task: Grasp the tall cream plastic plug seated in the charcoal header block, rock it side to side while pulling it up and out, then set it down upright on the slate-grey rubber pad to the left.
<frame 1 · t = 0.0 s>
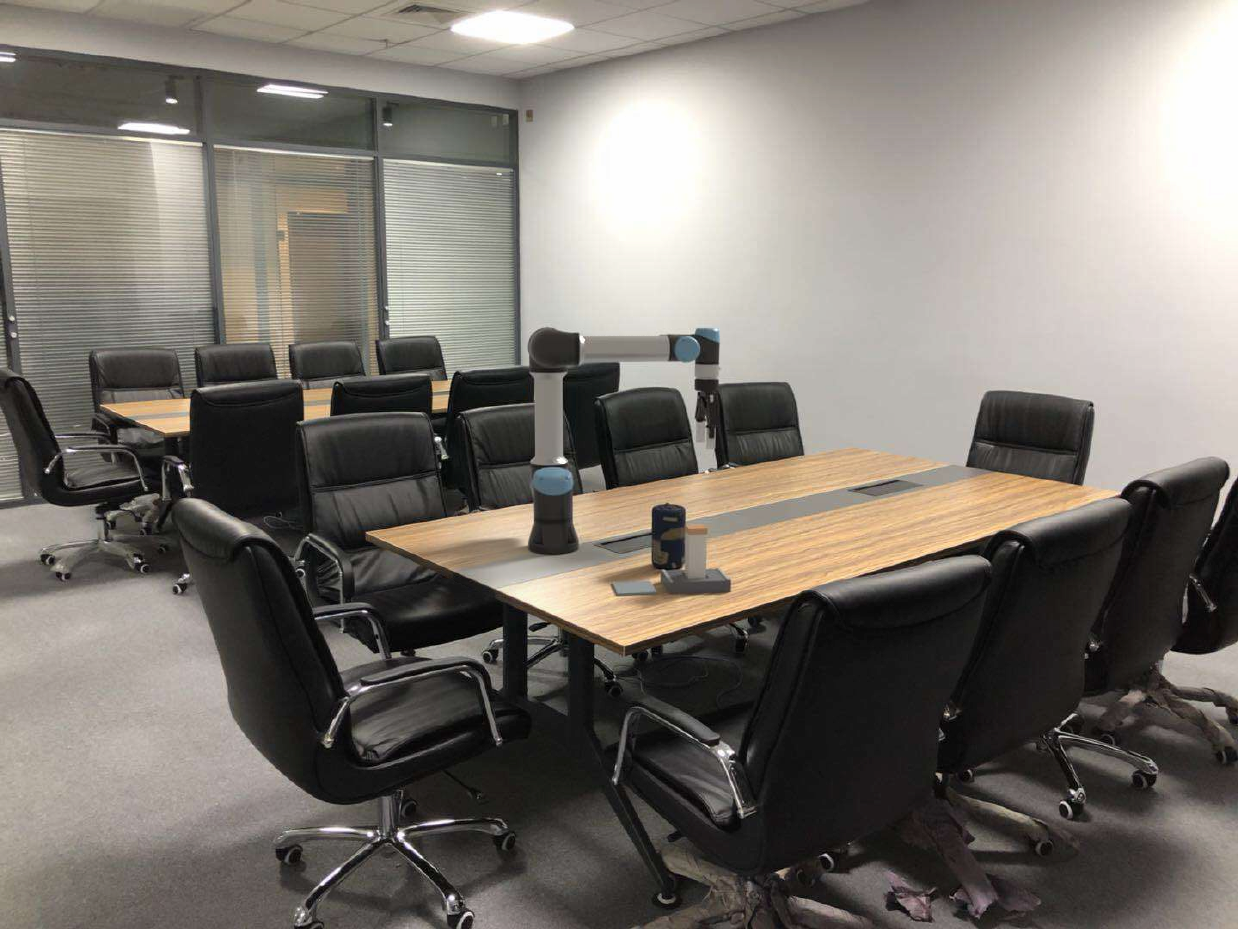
hand: (705, 445, 305), 28 cm above the table, fingers open, 13 cm apart
canister: (668, 566, 270), on the table
plug: (695, 556, 250), in the header
header: (695, 586, 251), on the table
pad: (634, 589, 249), on the table
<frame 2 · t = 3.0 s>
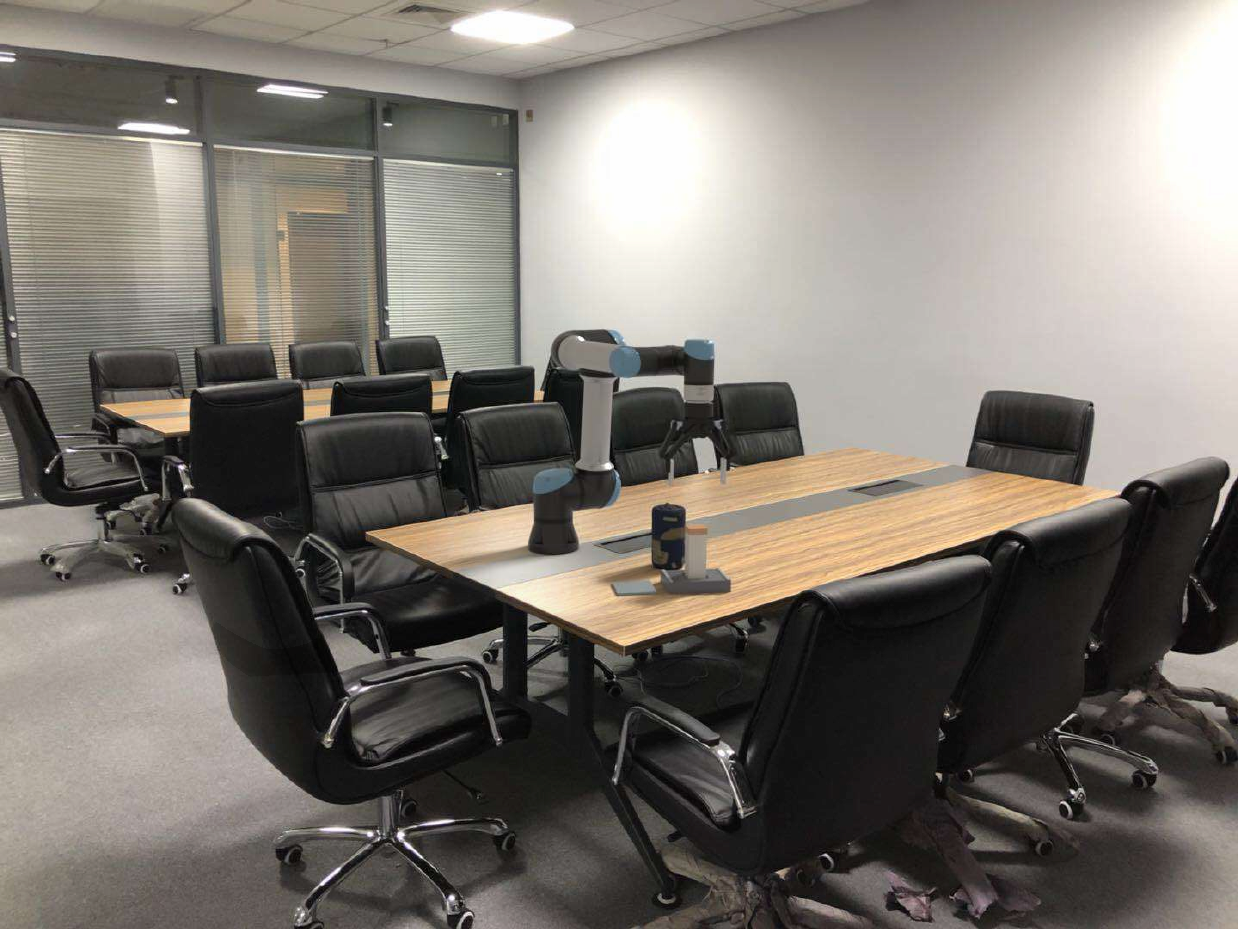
hand: (697, 484, 247), 27 cm above the table, fingers open, 13 cm apart
nothing on the table moved.
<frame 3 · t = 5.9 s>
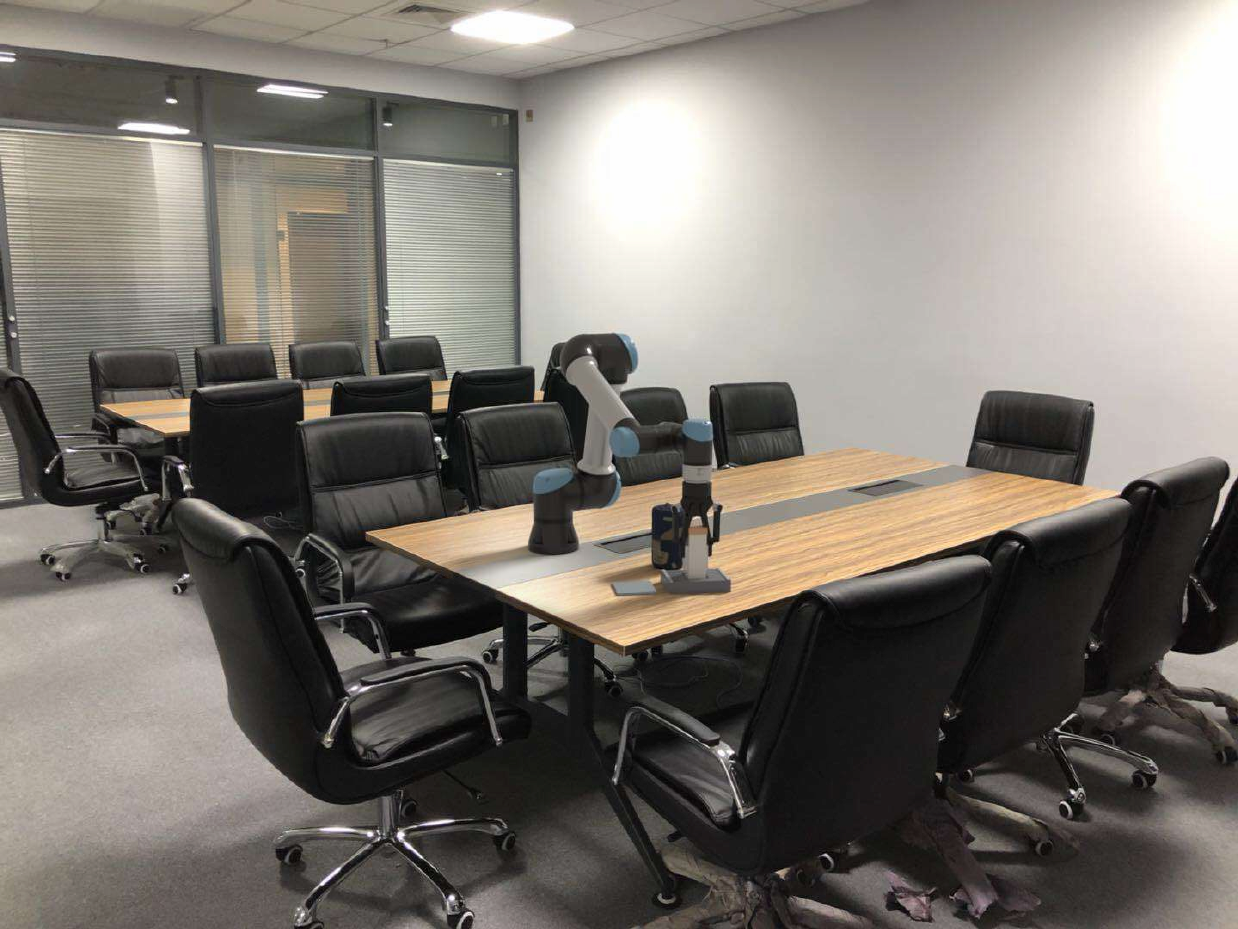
hand: (695, 569, 251), 5 cm above the table, fingers closed on plug, 4 cm apart
plug: (695, 556, 250), in the header, touching gripper
everything else where it was.
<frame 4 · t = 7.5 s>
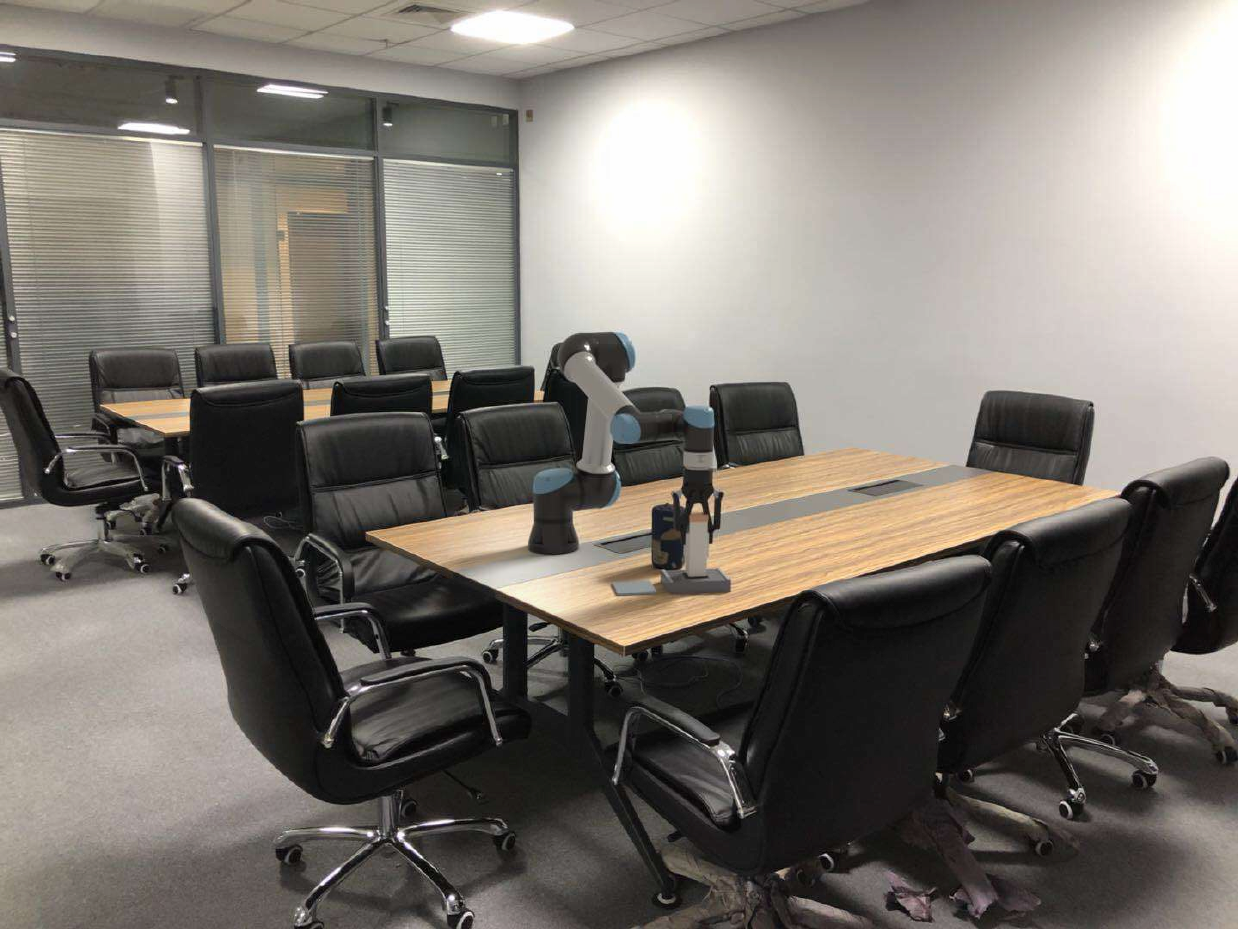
hand: (696, 556, 250), 8 cm above the table, fingers closed on plug, 4 cm apart
plug: (696, 543, 250), point 11 cm above the table, touching gripper
everything else where it was.
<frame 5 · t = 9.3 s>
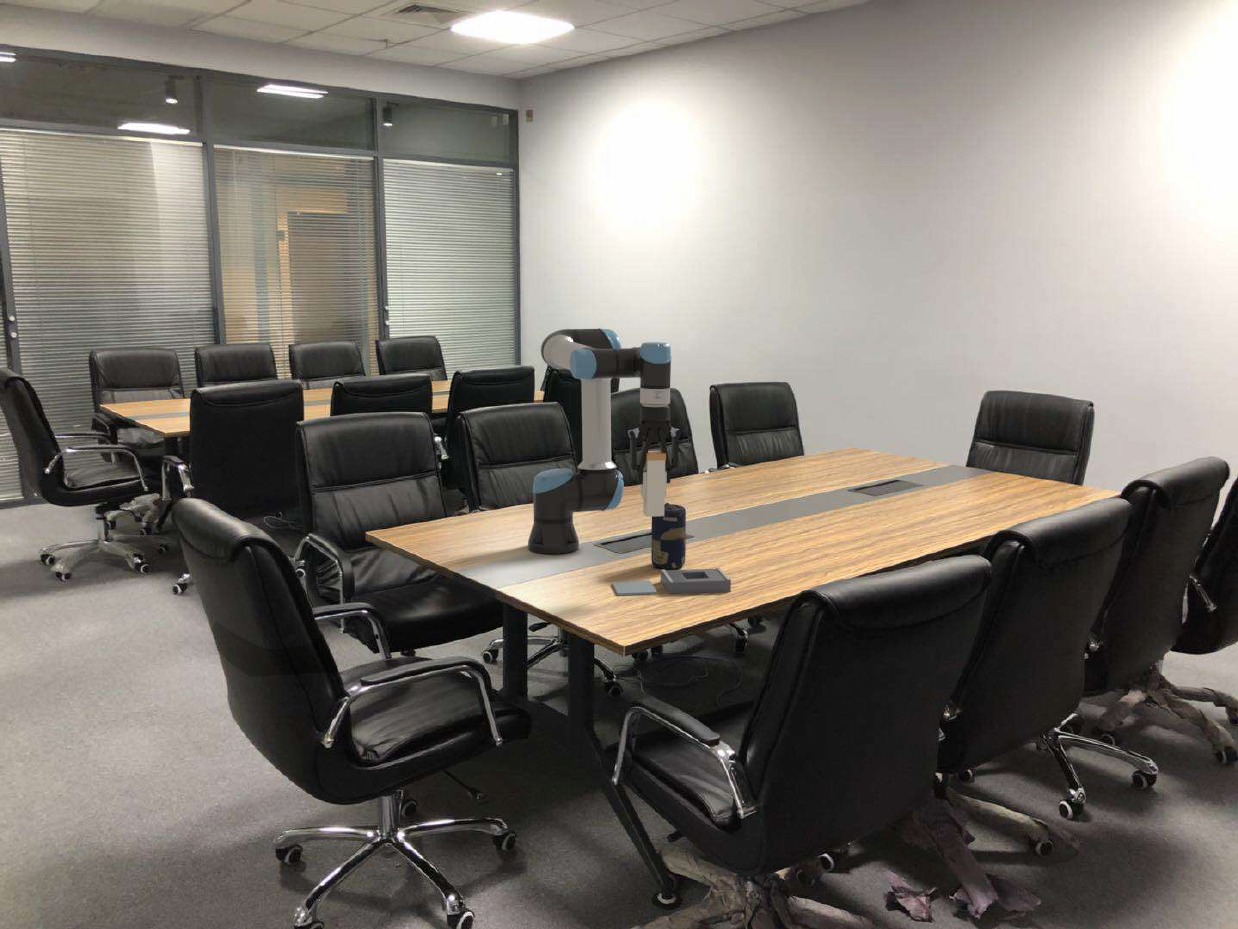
hand: (653, 496, 246), 24 cm above the table, fingers closed on plug, 4 cm apart
plug: (654, 483, 245), point 27 cm above the table, touching gripper
everything else where it was.
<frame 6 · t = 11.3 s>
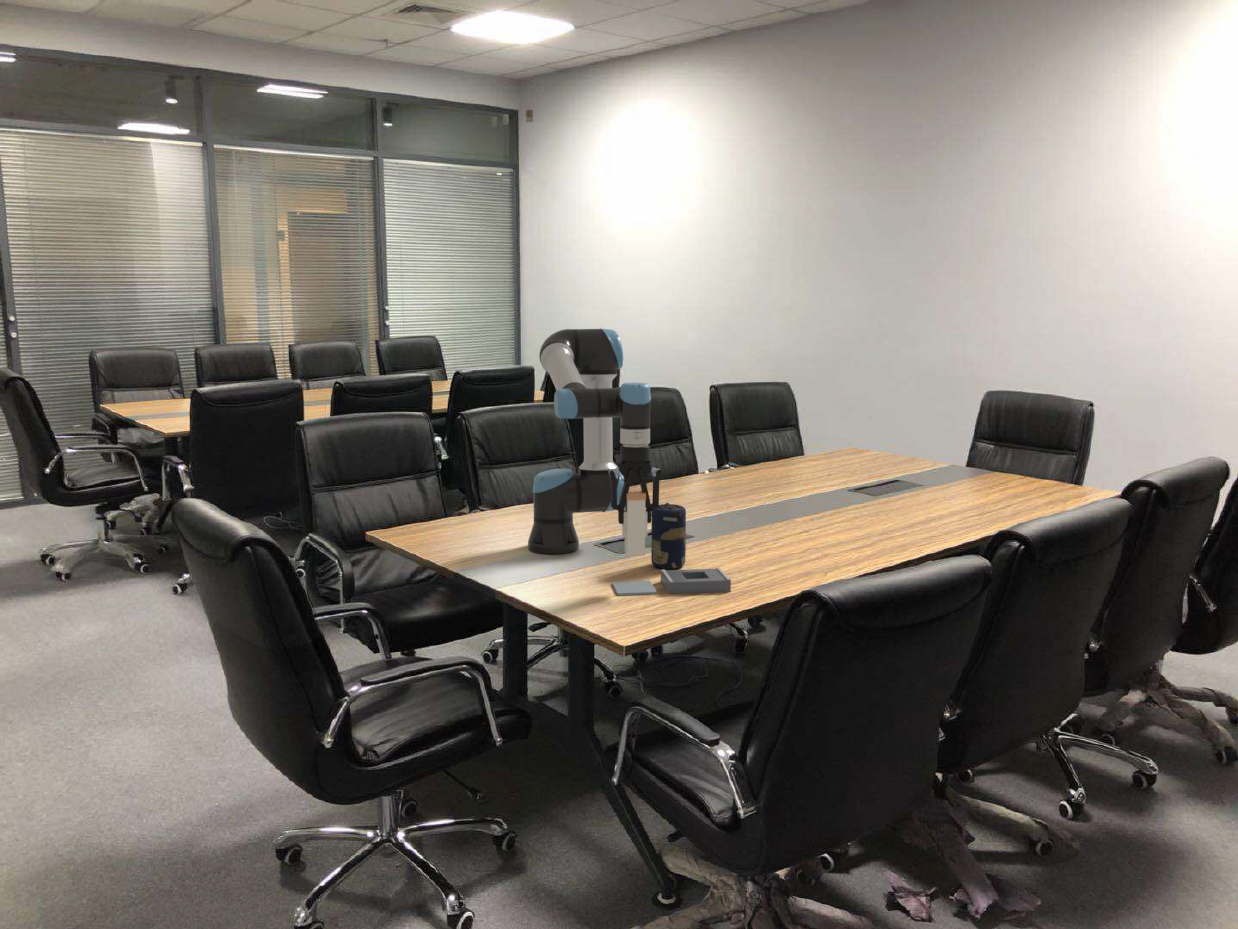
hand: (634, 535, 246), 14 cm above the table, fingers closed on plug, 4 cm apart
plug: (634, 523, 246), point 17 cm above the table, touching gripper
everything else where it was.
when the fingers open (6 cm above the table, at t = 12.8 s): plug stays where it is, resting on pad.
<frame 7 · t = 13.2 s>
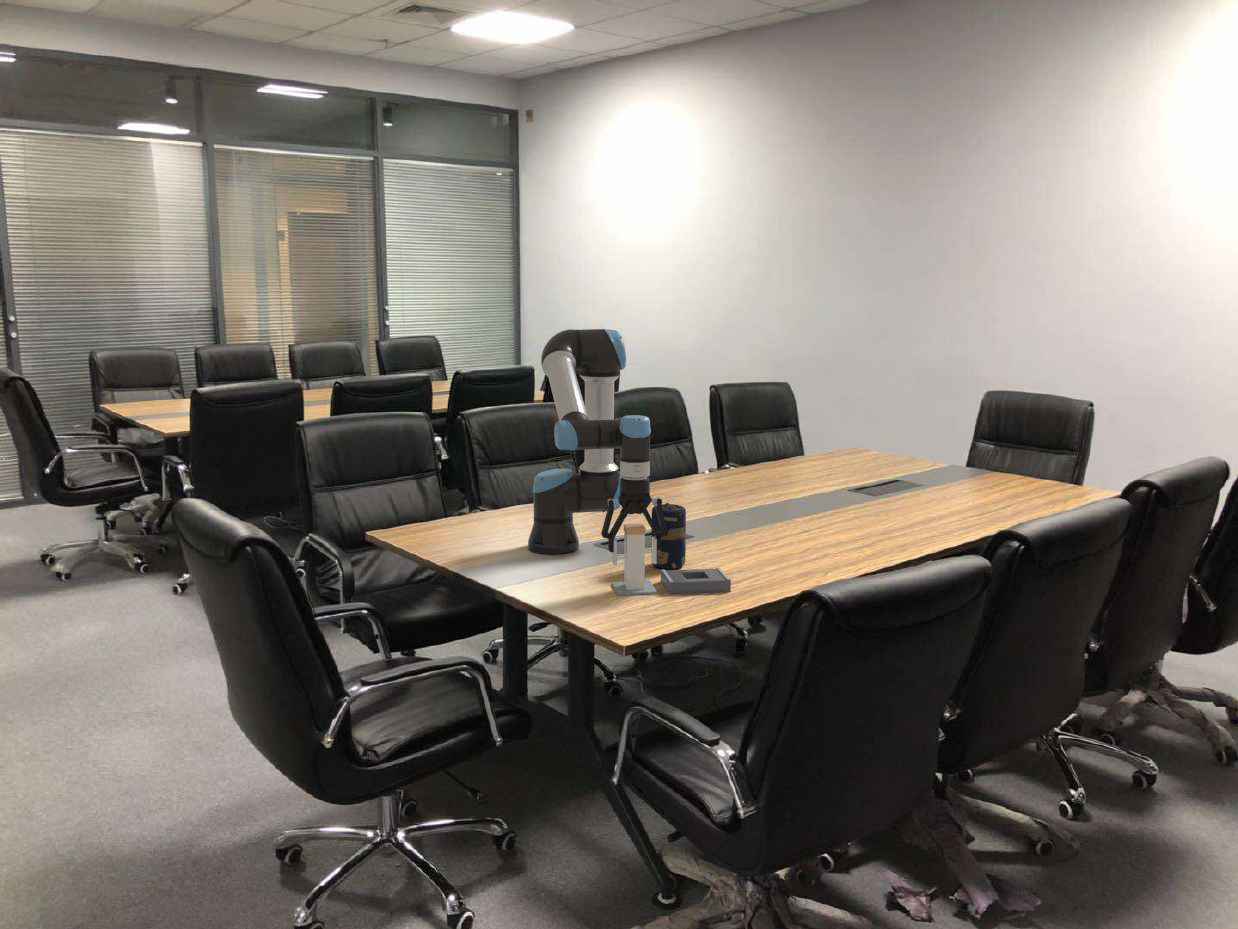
hand: (634, 563, 248), 7 cm above the table, fingers open, 9 cm apart
plug: (634, 556, 247), on the pad, point 9 cm above the table
everything else where it was.
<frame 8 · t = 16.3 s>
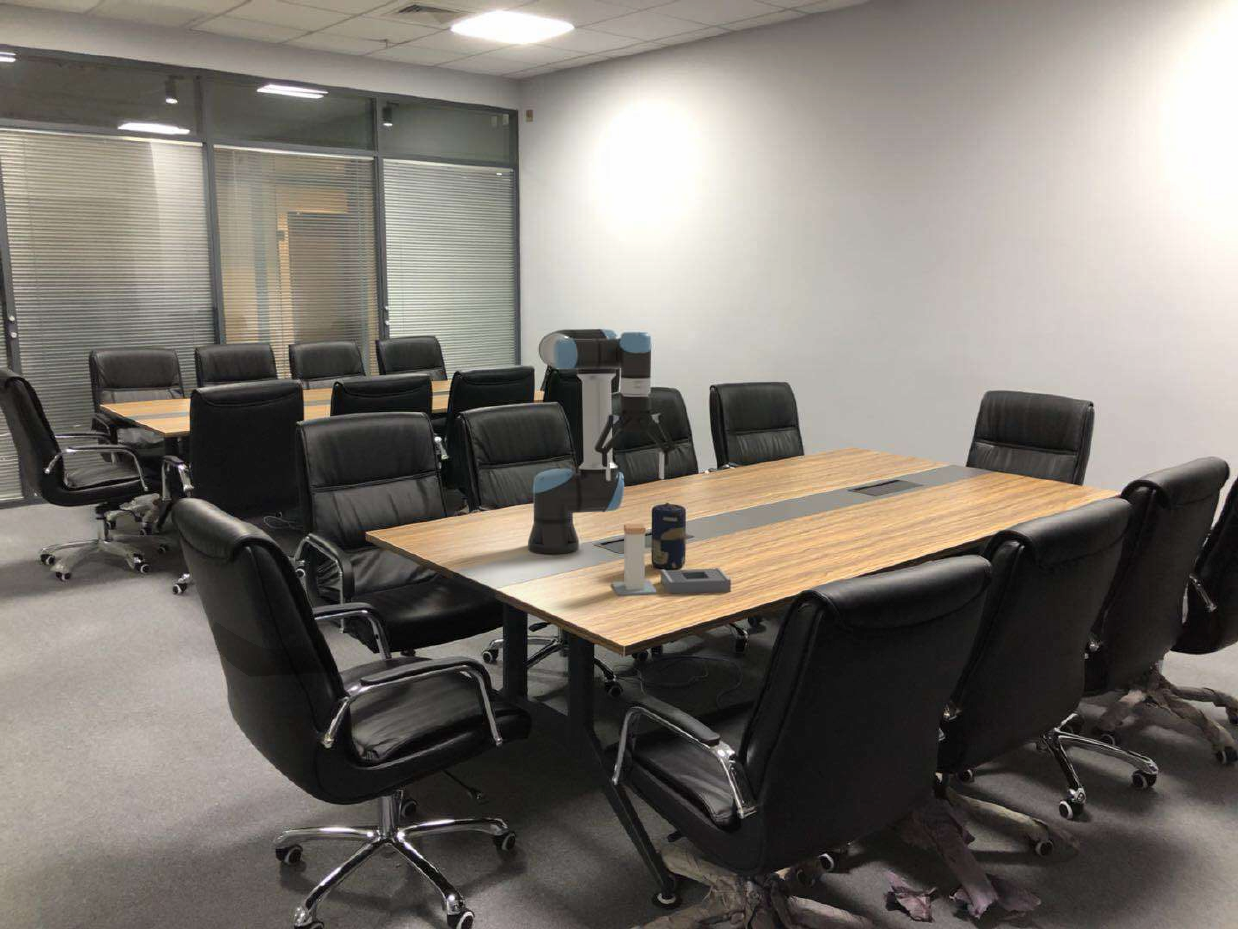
hand: (634, 479, 244), 29 cm above the table, fingers open, 13 cm apart
nothing on the table moved.
at the end: plug inside the target area on the pad (0.0 cm from its centre), point 8.6 cm above the pad's base; plug tilted 0°; plug touching pad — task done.
